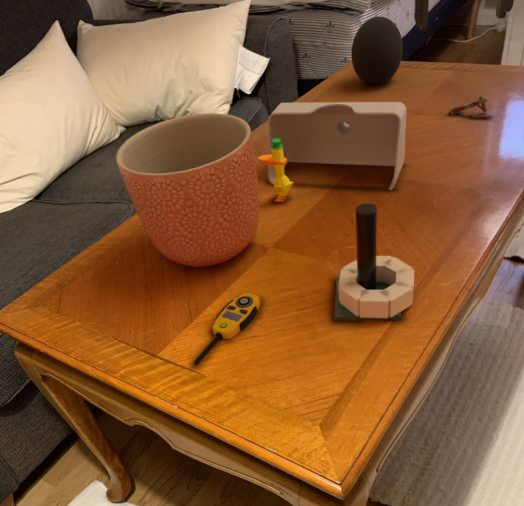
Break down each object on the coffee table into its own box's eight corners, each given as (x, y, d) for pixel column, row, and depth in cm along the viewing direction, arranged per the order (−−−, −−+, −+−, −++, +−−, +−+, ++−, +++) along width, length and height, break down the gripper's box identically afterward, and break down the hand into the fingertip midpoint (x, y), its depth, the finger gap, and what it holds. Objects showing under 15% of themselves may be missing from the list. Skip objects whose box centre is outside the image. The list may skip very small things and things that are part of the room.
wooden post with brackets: (490, 117, 108) (484, 96, 106) (455, 128, 114) (449, 107, 112) (494, 114, 109) (488, 92, 107) (459, 124, 115) (453, 104, 113)
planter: (193, 208, 102) (166, 110, 88) (288, 222, 93) (274, 115, 80) (129, 271, 90) (87, 167, 76) (231, 293, 81) (204, 181, 68)
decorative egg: (405, 74, 134) (408, 7, 124) (396, 93, 127) (398, 23, 116) (358, 76, 139) (357, 11, 128) (346, 94, 131) (344, 27, 120)
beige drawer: (410, 151, 105) (414, 86, 96) (394, 192, 95) (396, 123, 86) (294, 148, 114) (287, 89, 105) (268, 185, 104) (258, 122, 95)
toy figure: (260, 204, 99) (250, 143, 91) (268, 194, 101) (259, 134, 93) (292, 208, 96) (285, 145, 88) (300, 198, 99) (293, 136, 90)
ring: (398, 264, 78) (399, 247, 76) (427, 308, 70) (429, 291, 68) (329, 280, 78) (328, 264, 76) (351, 327, 70) (350, 310, 68)
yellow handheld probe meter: (265, 295, 77) (206, 363, 68) (267, 305, 78) (210, 372, 70) (239, 287, 79) (178, 352, 71) (241, 297, 80) (182, 362, 72)
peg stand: (397, 281, 77) (401, 187, 67) (400, 322, 71) (405, 226, 61) (336, 283, 79) (331, 192, 68) (334, 323, 73) (328, 230, 62)
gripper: (549, -190, 50) (519, 4, 62) (398, -156, 53) (396, 23, 65) (572, -188, 45) (534, 22, 57) (403, -151, 48) (400, 42, 60)
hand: (461, 22), depth 61 cm, fingers open, 8 cm apart
